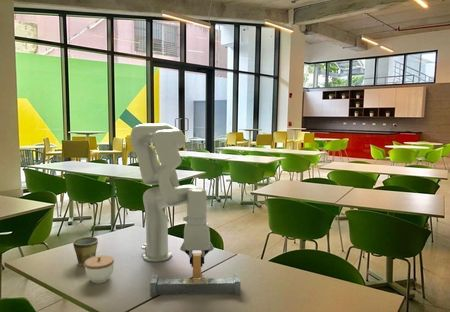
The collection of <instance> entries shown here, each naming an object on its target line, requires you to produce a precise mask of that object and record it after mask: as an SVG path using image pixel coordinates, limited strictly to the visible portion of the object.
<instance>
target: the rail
mask: <svg viewBox="0 0 450 312" xmlns="http://www.w3.org/2000/svg"><path fill="white" fill-rule="evenodd" d="M149 287H150V288H149V289H150V297H157V296H159V295H161V296H165V295H166V296H167V295H170V296H171V295H219V294H221V295H222V294H223V295H224V294H225V295H229V294H232V295H233V294H234V295H235V296H240V295H241V276H240V274H239V273H234V274H233V277H222V278H221V277H220V278H219V277H213V278H212V277H209V278H208V277H205V278H204V277H201V278H193V277H192V278H191V277H189V278H159V275H158V274H157V275H155V274H153V275H152V277H151V280H150V284H149Z"/></svg>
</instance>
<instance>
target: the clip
mask: <svg viewBox="0 0 450 312" xmlns="http://www.w3.org/2000/svg"><path fill="white" fill-rule="evenodd" d="M192 253H193V267H192V278H202V276H201V275H202V267H201V253H202V252H192Z"/></svg>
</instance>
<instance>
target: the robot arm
mask: <svg viewBox="0 0 450 312" xmlns="http://www.w3.org/2000/svg"><path fill="white" fill-rule="evenodd" d="M130 143H131V146H132V149H133V151H134V153H135V154H136V155H135V156H136V157H137V162H138V166H139V171H140V176H141V179H142V182H143V183H144V185H146V186H155V185H158V186H156V187H151V188H148V189H147V190H145V192H143V195H142V201H143V206H144V213H145V214H144V215H145V234H146V235H145V238H146V239H145V240H146V243H144V242H143V245H142V246H141V250H144V253H143V256H142V257H143V260H145V261H147V262H152V263H155V262H156V263H158V262H163V261H168V260H169V259H171V257H172V251H170V250H169V237H168V236H169V235H168V234H169V233H168V232H169V229H168V223H169V222H168V221H169V220H168V217H167V214H166V212H165V211H164V208H169V207H177V206H182V205H186V216H185V217H183V219H182V220H183V221H185V224H184V229H183V242H182V244H181V246H180V248H179V249H180V251H182V252H183V253H185V254H186V255H187V256H188V258H189V265H190V266H191V268H193V253H194V252H193V251H200V253H201V268H203V265H205V257H206V255H207V254H208V253H210V252H212V251H214V245H213V244H212V242H211V235H210V234H211V233H210V226H209V225H210V224H209V223H208V221H207V190H206V189H204V188H202V187H197V186H196V185H195V184H183V185H180V182H179V178H178V173H177V170H176V169H177V168H178V167H179V166H180V165H181V164H182V163H183V161H182V160H183V159H182V157H181V154H180V153H179V152H180V151H179V150H178V149H181V148H183V147H185V144H186V136H185V133H183V131H182V130H180V129H179V128H177V127H175V126H172V125H171V124H168V123H142V124H141V123H140V124H138V125H135V126H133V128H132V129H131V132H130ZM150 144H152V145H153V147H154V148H153V147H152V146H151V145H150Z"/></svg>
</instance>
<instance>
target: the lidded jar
mask: <svg viewBox="0 0 450 312" xmlns="http://www.w3.org/2000/svg"><path fill="white" fill-rule="evenodd" d="M84 265H85V266H84V271H85V275H86V277H87V279H89V280H90V281H91V282H92V283H93V284H101V283H103V284H104V283H105V282H108V280H109V278H110V277H111V276H112V274H113V272H114V257H112V256H110V255H106V254H105V255H96V256H95V257H91V258H89V259H87V260H86V261H85V263H84Z"/></svg>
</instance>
